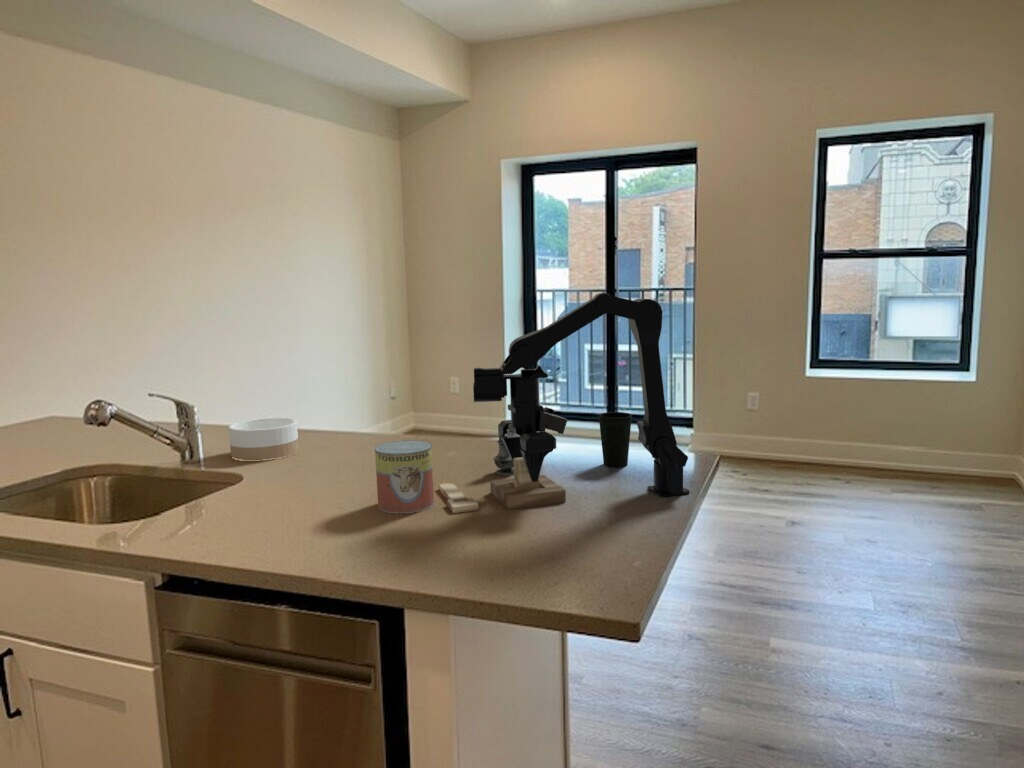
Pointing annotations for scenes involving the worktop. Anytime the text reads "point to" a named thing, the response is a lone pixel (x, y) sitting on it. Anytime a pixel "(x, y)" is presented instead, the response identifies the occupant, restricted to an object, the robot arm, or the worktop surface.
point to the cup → (615, 438)
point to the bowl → (263, 438)
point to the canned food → (404, 476)
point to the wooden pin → (523, 476)
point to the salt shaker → (503, 460)
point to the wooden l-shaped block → (457, 499)
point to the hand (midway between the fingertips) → (526, 475)
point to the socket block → (527, 493)
